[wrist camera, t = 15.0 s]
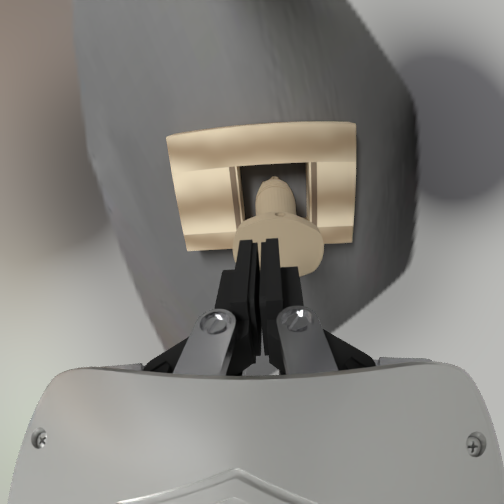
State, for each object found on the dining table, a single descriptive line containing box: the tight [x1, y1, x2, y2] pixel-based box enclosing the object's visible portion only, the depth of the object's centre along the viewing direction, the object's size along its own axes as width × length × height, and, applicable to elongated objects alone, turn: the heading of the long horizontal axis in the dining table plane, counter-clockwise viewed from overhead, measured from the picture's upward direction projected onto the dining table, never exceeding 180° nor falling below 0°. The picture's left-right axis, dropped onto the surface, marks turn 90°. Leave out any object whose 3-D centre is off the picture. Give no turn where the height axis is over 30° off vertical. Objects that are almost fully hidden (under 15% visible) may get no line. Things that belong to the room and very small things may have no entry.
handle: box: [233, 176, 324, 277], centre depth 26 cm, size 5×6×15 cm
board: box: [166, 121, 356, 251], centre depth 31 cm, size 14×20×3 cm
